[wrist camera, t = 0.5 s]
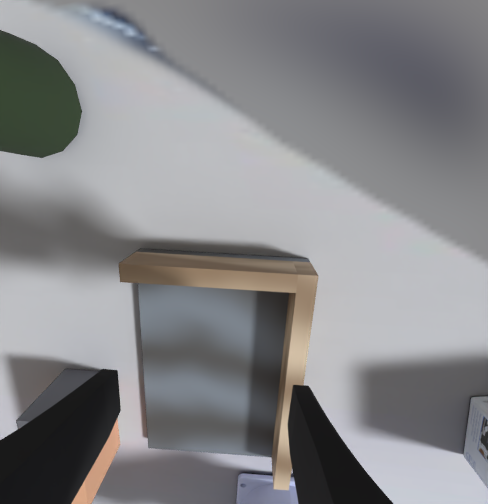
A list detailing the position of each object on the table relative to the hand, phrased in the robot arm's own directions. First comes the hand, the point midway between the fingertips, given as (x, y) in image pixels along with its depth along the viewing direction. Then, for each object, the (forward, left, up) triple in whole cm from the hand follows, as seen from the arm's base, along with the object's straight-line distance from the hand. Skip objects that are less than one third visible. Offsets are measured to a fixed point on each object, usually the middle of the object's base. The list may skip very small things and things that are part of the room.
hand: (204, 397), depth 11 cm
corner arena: (-6, 0, -10) cm, 11 cm away
